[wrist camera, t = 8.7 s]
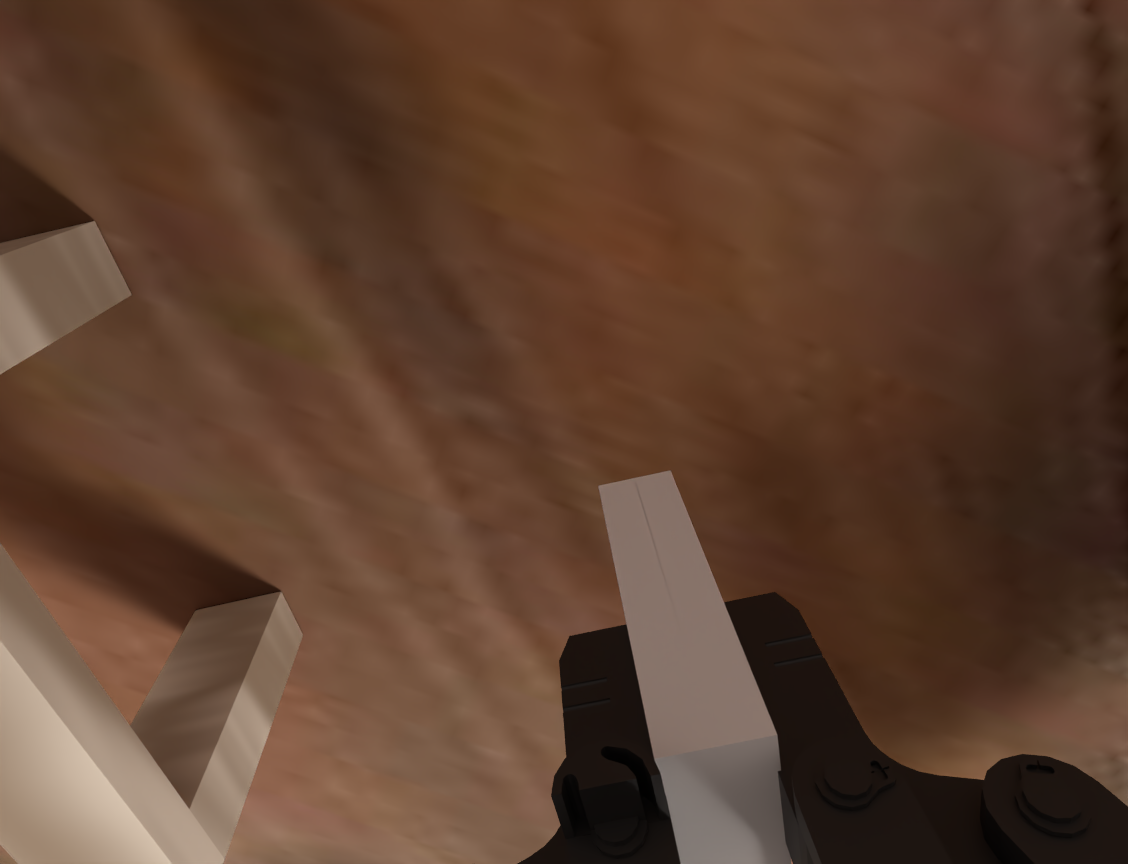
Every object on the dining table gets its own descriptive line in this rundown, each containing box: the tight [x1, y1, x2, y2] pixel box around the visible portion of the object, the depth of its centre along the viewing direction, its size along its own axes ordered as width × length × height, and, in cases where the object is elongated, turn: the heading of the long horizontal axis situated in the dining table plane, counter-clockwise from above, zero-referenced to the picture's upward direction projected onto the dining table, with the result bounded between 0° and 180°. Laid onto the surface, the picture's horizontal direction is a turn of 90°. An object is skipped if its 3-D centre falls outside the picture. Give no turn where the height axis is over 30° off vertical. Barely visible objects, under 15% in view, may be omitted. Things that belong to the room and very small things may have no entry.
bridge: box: [0, 221, 303, 864], centre depth 18 cm, size 3×14×9 cm, turn 12°
